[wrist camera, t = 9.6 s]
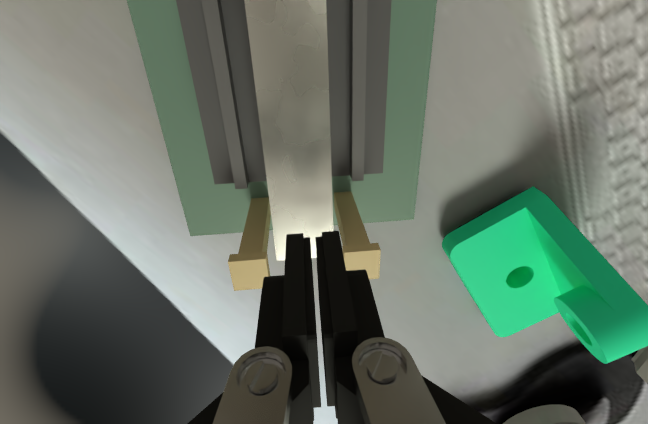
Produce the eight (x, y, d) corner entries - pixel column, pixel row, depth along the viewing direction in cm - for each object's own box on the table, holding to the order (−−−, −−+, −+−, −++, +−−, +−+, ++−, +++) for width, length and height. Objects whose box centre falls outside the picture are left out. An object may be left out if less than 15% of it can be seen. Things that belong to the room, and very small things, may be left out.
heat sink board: (76, -222, 14) (-155, -487, 7) (451, -223, 15) (604, -458, 8) (194, 228, 25) (153, 314, 17) (409, 212, 26) (457, 287, 18)
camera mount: (432, 231, 27) (502, 335, 18) (524, 180, 25) (651, 265, 16) (484, 318, 32) (558, 431, 23) (562, 279, 31) (674, 385, 22)
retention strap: (219, -228, 11) (209, -264, 9) (315, -229, 11) (318, -264, 10) (277, 248, 19) (276, 264, 17) (332, 244, 19) (334, 259, 18)
